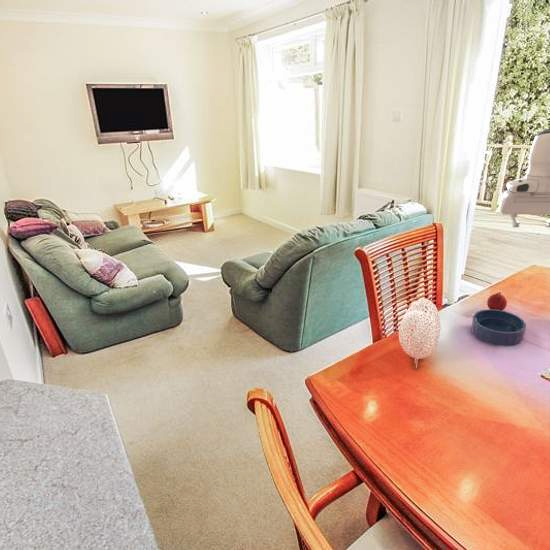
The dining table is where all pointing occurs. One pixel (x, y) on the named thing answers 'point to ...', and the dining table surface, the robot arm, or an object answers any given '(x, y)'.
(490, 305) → the onion
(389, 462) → the dining table surface
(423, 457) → the dining table surface
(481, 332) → the bowl
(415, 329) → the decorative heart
